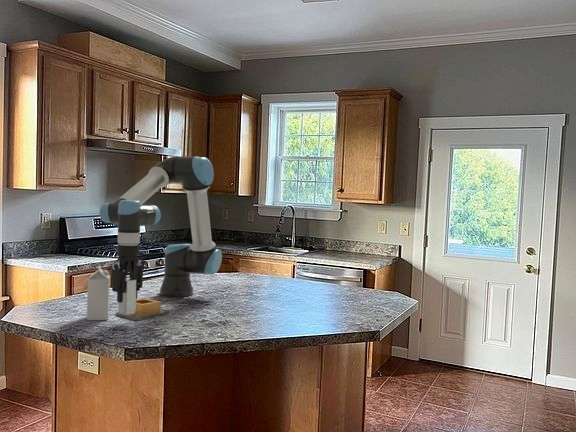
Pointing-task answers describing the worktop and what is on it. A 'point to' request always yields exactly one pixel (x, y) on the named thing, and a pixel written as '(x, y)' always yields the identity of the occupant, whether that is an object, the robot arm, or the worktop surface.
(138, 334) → the worktop surface
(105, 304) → the milk carton
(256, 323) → the worktop surface
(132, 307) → the white tall block
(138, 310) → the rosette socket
